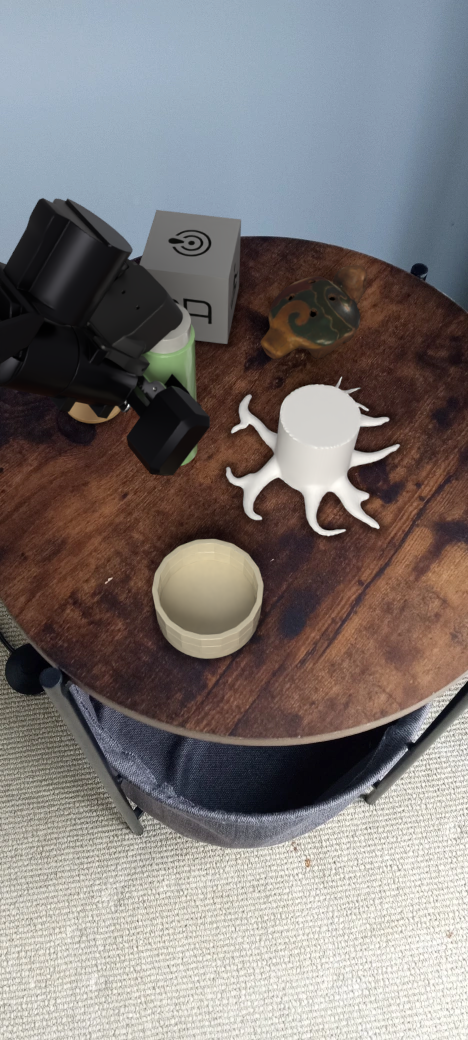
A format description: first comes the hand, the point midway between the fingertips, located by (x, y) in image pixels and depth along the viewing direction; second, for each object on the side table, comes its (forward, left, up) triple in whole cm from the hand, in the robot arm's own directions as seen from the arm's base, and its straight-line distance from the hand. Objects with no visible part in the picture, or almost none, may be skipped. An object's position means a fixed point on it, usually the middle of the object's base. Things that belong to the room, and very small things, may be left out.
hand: (181, 390), depth 66 cm
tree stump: (+13, -1, -14) cm, 19 cm away
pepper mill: (-1, -1, -8) cm, 8 cm away
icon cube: (+6, +24, -14) cm, 28 cm away
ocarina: (+19, +16, -14) cm, 28 cm away
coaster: (-8, +12, -13) cm, 20 cm away
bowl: (-1, -16, -13) cm, 21 cm away
